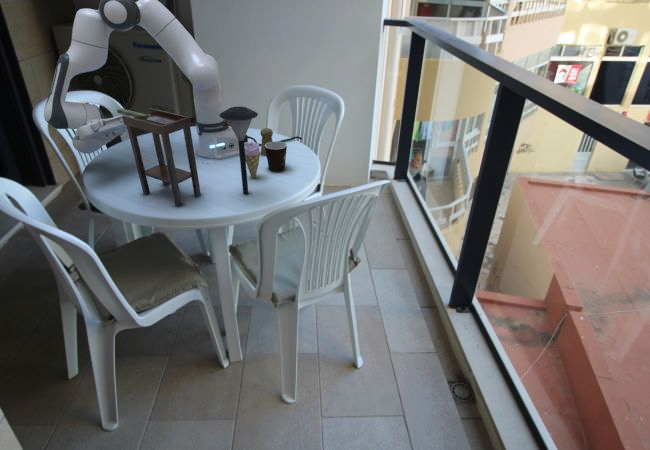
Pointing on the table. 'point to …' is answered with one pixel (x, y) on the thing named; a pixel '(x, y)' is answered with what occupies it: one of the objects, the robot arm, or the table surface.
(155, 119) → the fork
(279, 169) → the coffee mug
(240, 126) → the solar garden light
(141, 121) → the stand
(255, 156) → the ice cream cone
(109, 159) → the table surface
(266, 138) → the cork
